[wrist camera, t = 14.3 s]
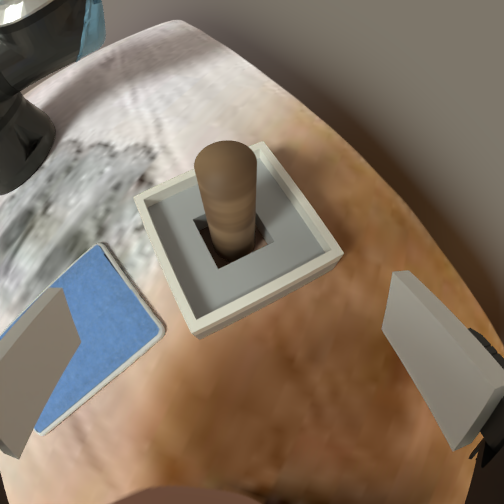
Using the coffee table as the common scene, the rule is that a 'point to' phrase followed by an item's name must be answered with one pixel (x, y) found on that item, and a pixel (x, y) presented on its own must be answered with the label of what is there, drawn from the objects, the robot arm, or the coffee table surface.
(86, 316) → the blue rectangular panel
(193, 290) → the tray
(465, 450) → the coffee table surface
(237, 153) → the peg
